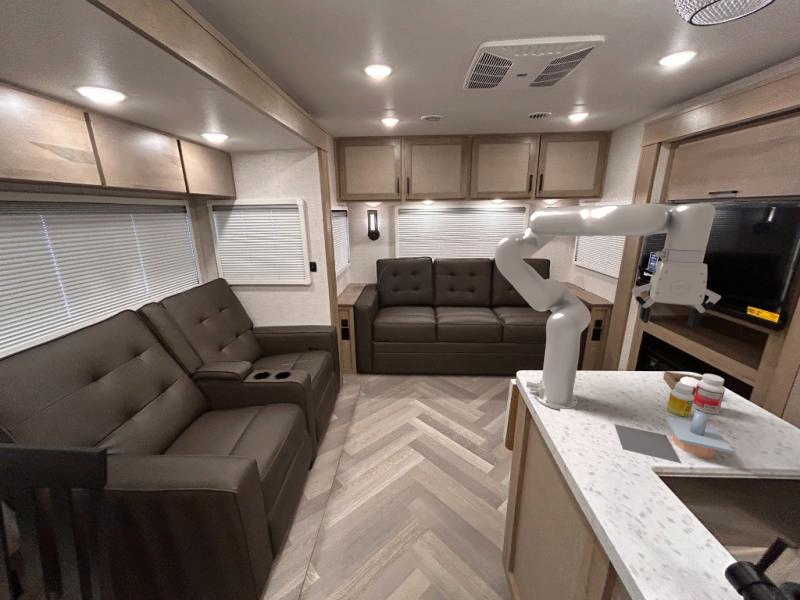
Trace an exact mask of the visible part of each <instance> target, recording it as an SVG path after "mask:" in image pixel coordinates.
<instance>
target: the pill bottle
mask: <svg viewBox="0 0 800 600" xmlns="http://www.w3.org/2000/svg"><path fill="white" fill-rule="evenodd" d="M701 377H702V380H700V381H699V382H698V383H697V387H696V391H695V395H694V401H693V405H692V408H694V409H697V411H701V412H704V413H706V414H708V415H710V414H711V415H717V414H718V413H719V412H720V410H721V407H722V406H721V405H722V403H723V398H724V395H725V393H726V392H725V391H726V388H725V386H724V384H725V378H723V377H721V376H719V375H716V374H713V373H704V374H702V376H701Z"/></svg>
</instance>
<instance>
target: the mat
mask: <svg viewBox="0 0 800 600" xmlns="http://www.w3.org/2000/svg"><path fill="white" fill-rule="evenodd" d="M614 428H615V431H616V434H617V436H618V439H619V442H620V446H621V447H622V450H624V451H629V452H632V453H636V454H641V455H645V456H648V457H653V458H658V459H661V460H664V461H665V460H666V461H670V462H673V463H679V464H682V461H681V460H680V458H679V456H678V454H677V452H676V450H675V449H674V446H673V445H672V444H671V441H670V439H669V438H668V437H667V435H666V434H662V433H657V432H653V431H648V430H644V429H639V428H633V427H630V426H626V425H625V426H624V425H621V424H615V423H614Z"/></svg>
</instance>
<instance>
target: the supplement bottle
mask: <svg viewBox="0 0 800 600" xmlns="http://www.w3.org/2000/svg"><path fill="white" fill-rule="evenodd" d="M692 393H693V388H692V387H691V386H689V385H686V384H682V383H678V382H677V384H676V385H675V389H673V390H671V391H670V393H669V398H668V401H667V405H666V411H667V412H669V414H671V415H674V416H676V417H679V418H689V417H690V415H691V413H692V409H693V401H694V396H693V395H692Z"/></svg>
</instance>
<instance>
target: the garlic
mask: <svg viewBox="0 0 800 600" xmlns="http://www.w3.org/2000/svg"><path fill="white" fill-rule="evenodd" d="M698 382H699V380H697V379H694V378H693V377H692V378H691V377H687V376H686V377H683V378H681V379H680V382H677V383H682V384H686V385H689V386H691V387H697V383H698Z"/></svg>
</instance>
